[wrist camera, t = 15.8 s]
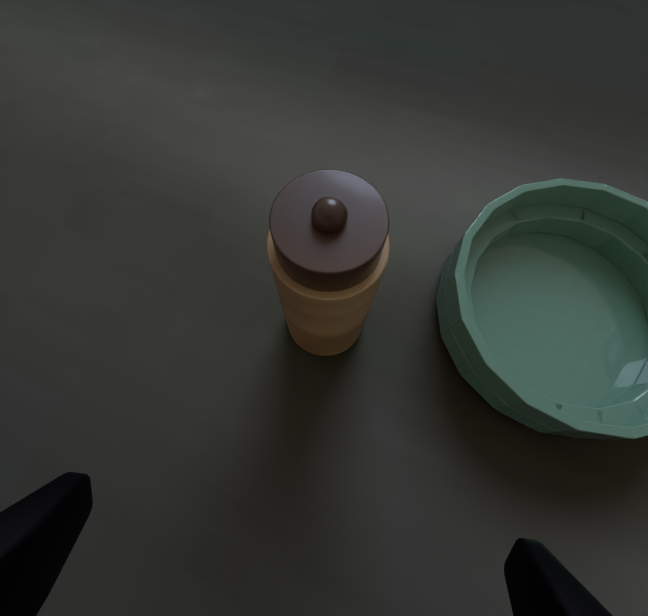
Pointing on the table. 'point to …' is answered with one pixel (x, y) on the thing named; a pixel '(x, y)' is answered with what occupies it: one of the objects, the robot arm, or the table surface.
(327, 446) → the table surface
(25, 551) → the robot arm
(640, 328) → the bowl
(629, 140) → the table surface
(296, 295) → the pepper mill
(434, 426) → the table surface
